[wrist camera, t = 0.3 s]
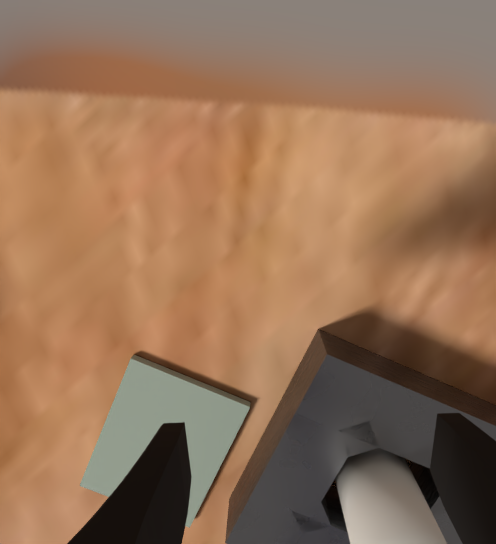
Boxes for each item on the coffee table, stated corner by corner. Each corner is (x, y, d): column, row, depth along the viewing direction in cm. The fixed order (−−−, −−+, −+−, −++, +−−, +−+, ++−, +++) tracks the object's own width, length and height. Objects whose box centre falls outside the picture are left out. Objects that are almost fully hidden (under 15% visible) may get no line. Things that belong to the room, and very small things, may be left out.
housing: (406, 567, 26) (424, 618, 23) (229, 498, 25) (225, 542, 22) (513, 413, 23) (550, 449, 20) (318, 329, 22) (327, 354, 19)
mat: (190, 520, 25) (189, 527, 25) (83, 479, 25) (79, 485, 24) (250, 402, 23) (250, 407, 23) (133, 354, 23) (130, 358, 22)
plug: (379, 495, 24) (428, 629, 17) (318, 471, 24) (343, 597, 17) (413, 442, 23) (479, 562, 16) (350, 416, 23) (389, 526, 16)
